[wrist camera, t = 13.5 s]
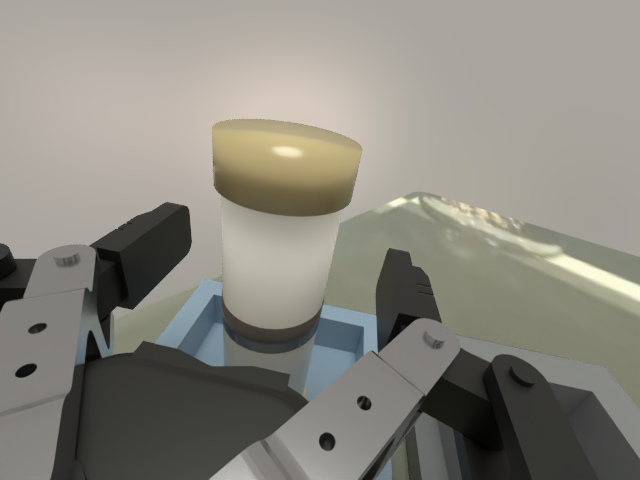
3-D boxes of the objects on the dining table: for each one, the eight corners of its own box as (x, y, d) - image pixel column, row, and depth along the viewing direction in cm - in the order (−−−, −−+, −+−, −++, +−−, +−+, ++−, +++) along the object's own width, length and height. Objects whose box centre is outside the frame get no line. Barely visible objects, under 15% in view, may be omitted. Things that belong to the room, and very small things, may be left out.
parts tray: (369, 352, 21) (382, 316, 19) (372, 622, 11) (399, 600, 9) (206, 316, 22) (204, 278, 20) (58, 542, 11) (26, 506, 9)
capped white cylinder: (308, 383, 17) (363, 136, 10) (292, 465, 14) (360, 171, 7) (239, 367, 17) (245, 113, 10) (204, 444, 14) (179, 135, 7)
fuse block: (554, 370, 22) (591, 329, 20) (859, 861, 8) (1093, 908, 6) (395, 336, 23) (413, 291, 20) (438, 746, 9) (509, 749, 7)
